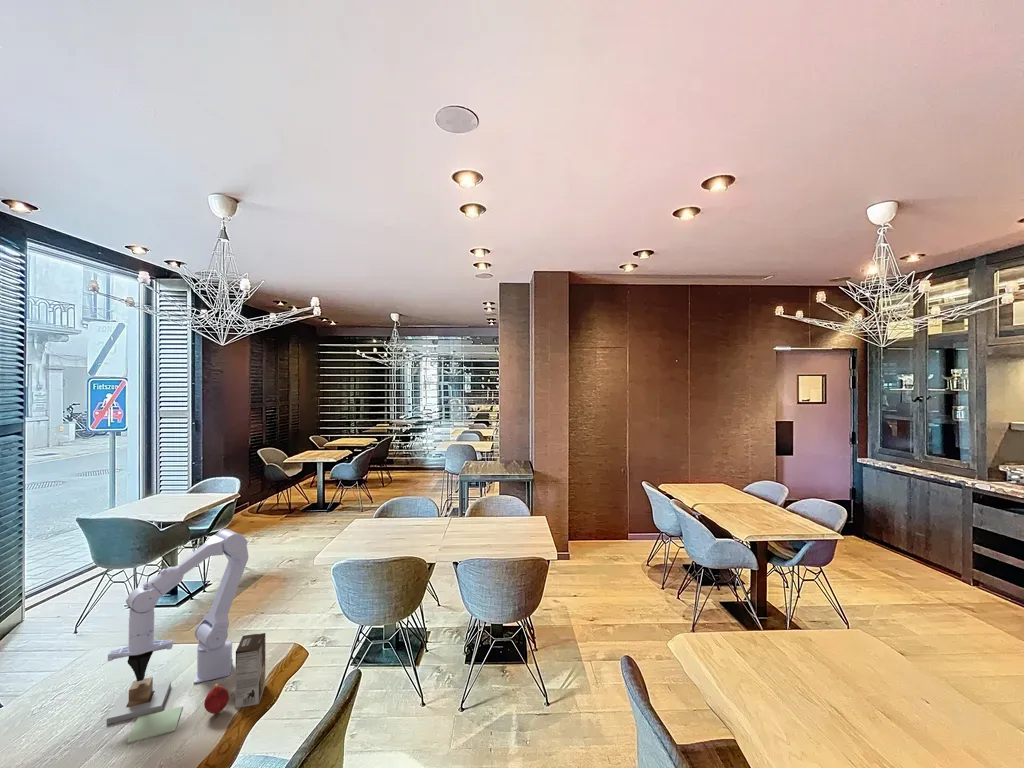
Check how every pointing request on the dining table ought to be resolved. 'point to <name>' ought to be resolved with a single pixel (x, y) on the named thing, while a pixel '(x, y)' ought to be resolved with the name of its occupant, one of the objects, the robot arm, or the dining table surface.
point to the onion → (216, 699)
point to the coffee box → (250, 670)
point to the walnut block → (141, 692)
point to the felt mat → (155, 724)
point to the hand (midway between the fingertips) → (140, 679)
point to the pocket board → (155, 705)
